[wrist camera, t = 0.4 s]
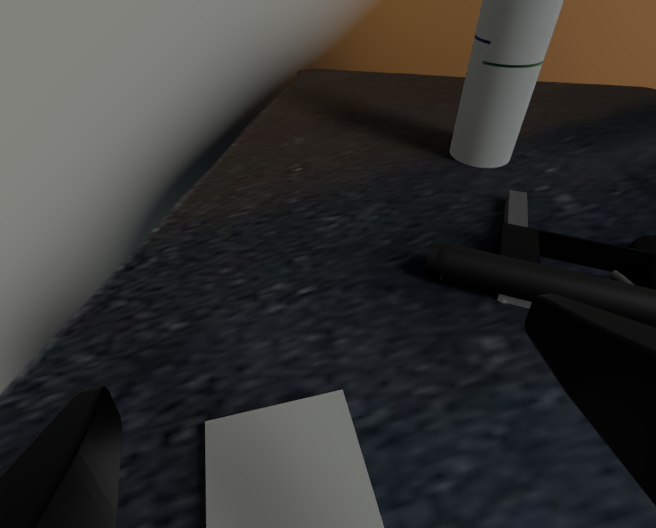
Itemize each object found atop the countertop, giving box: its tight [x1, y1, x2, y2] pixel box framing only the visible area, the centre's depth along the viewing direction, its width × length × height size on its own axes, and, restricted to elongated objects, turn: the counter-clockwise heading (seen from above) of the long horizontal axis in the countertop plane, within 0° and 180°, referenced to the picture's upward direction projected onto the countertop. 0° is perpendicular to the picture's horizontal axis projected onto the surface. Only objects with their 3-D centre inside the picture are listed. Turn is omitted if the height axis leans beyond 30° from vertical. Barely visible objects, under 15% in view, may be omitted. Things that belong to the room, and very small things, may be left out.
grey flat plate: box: [205, 390, 384, 528], centre depth 19 cm, size 10×8×1 cm
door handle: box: [424, 190, 656, 328], centre depth 32 cm, size 3×20×16 cm
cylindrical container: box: [450, 0, 564, 168], centre depth 39 cm, size 7×7×25 cm
